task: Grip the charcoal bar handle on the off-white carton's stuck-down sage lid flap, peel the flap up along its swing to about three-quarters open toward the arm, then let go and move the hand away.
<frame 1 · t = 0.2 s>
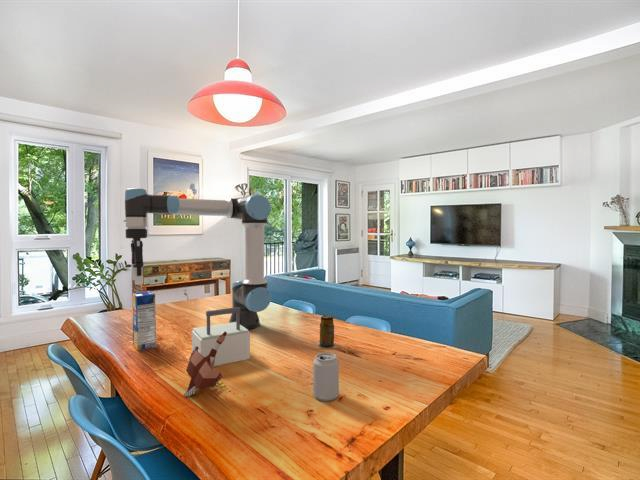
hand: (137, 282, 138), 28 cm above the table, tool pointing down, fingers open, 13 cm apart
decorative bird: (206, 391, 106), on the table
can: (326, 396, 102), on the table
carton: (220, 357, 133), on the table
lid flap: (220, 319, 132), point 15 cm above the table, hinge at 0.0°
condiment: (327, 345, 147), on the table
beverage box: (144, 345, 147), on the table
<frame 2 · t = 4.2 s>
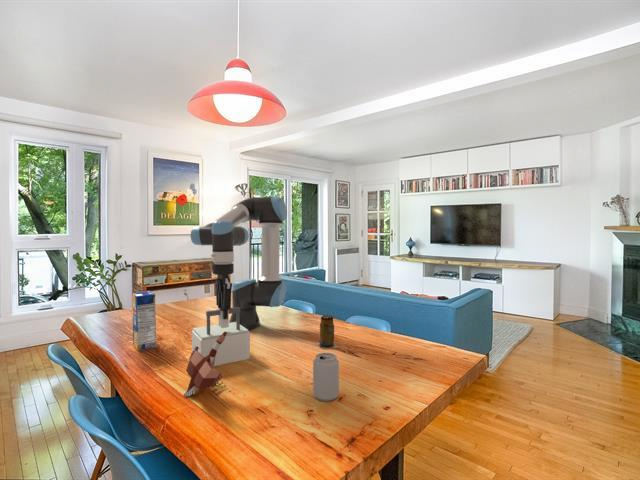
hand: (223, 326, 129), 13 cm above the table, tool pointing down, fingers closed on lid flap, 2 cm apart
lid flap: (220, 319, 132), point 15 cm above the table, hinge at 0.0°, touching gripper
everything else where it was.
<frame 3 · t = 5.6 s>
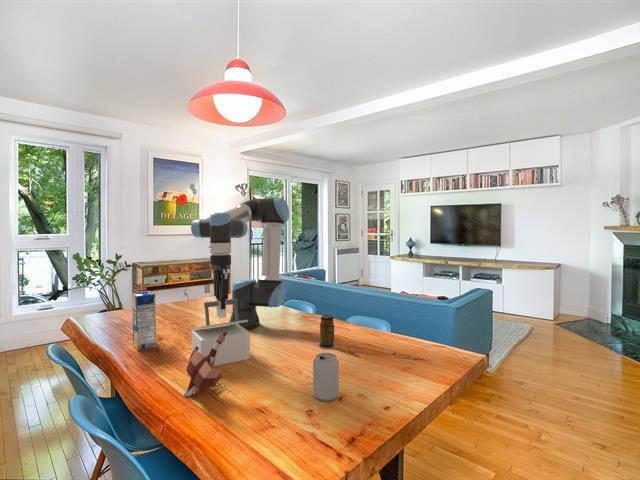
hand: (221, 316, 131), 16 cm above the table, tool pointing down, fingers closed on lid flap, 2 cm apart
lid flap: (219, 313, 134), point 17 cm above the table, hinge at 15.7°, touching gripper
everything else where it was.
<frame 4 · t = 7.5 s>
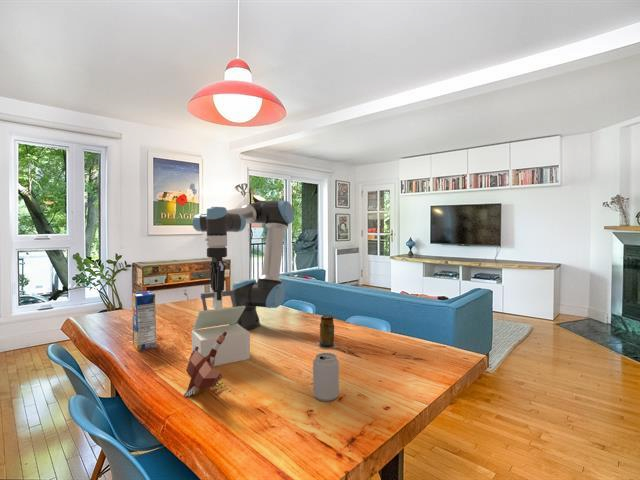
hand: (217, 307, 135), 18 cm above the table, tool pointing down, fingers closed on lid flap, 2 cm apart
lid flap: (216, 307, 136), point 18 cm above the table, hinge at 38.1°, touching gripper
everything else where it was.
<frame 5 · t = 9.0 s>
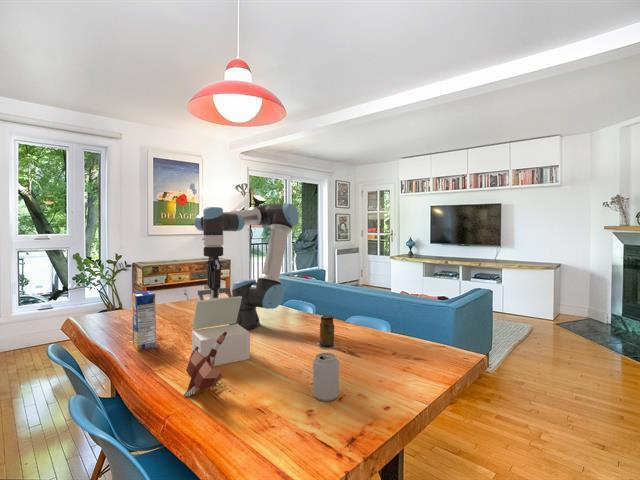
hand: (214, 305, 139), 19 cm above the table, tool pointing down, fingers closed on lid flap, 2 cm apart
lid flap: (214, 305, 139), point 19 cm above the table, hinge at 57.8°, touching gripper
everything else where it was.
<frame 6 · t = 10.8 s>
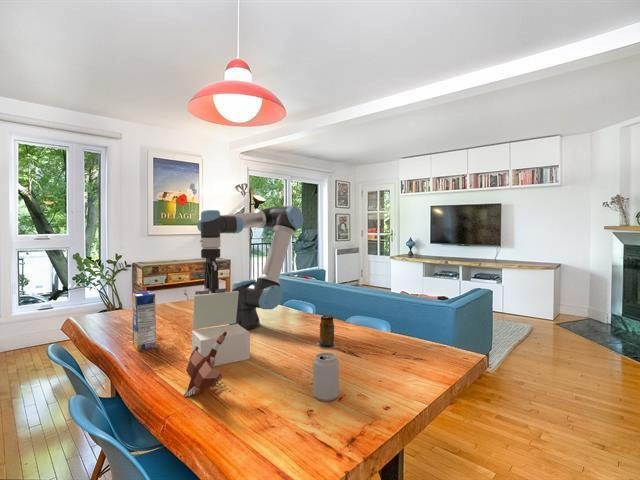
hand: (211, 305, 143), 18 cm above the table, tool pointing down, fingers open, 4 cm apart
lid flap: (213, 304, 141), point 18 cm above the table, hinge at 74.6°
everything else where it was.
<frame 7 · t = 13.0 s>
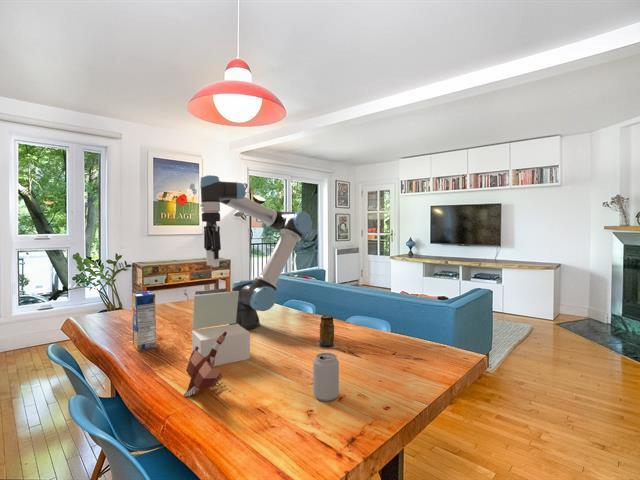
hand: (212, 265, 150), 33 cm above the table, tool pointing down, fingers open, 7 cm apart
nothing on the table moved.
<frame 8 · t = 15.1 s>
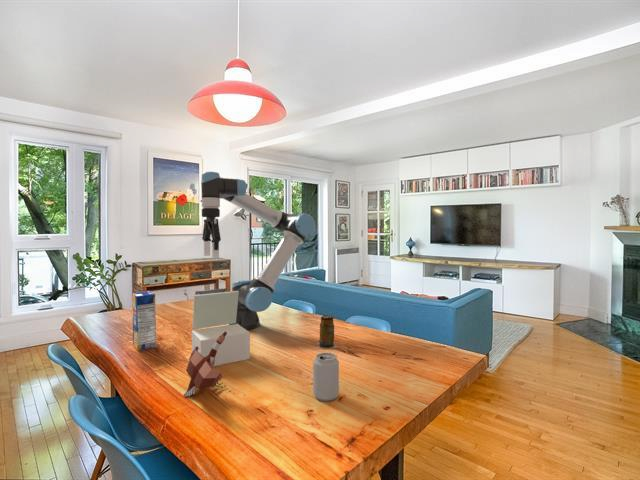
hand: (211, 256, 153), 37 cm above the table, tool pointing down, fingers open, 13 cm apart
nothing on the table moved.
at the end: lid flap at +75° (first picture: +0°); the gripper is holding nothing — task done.
